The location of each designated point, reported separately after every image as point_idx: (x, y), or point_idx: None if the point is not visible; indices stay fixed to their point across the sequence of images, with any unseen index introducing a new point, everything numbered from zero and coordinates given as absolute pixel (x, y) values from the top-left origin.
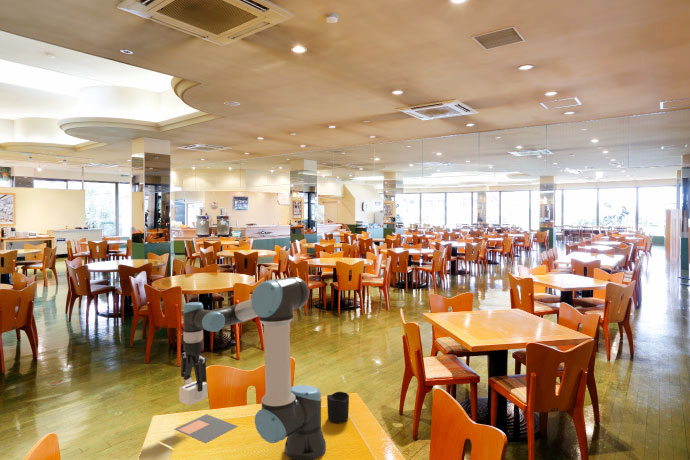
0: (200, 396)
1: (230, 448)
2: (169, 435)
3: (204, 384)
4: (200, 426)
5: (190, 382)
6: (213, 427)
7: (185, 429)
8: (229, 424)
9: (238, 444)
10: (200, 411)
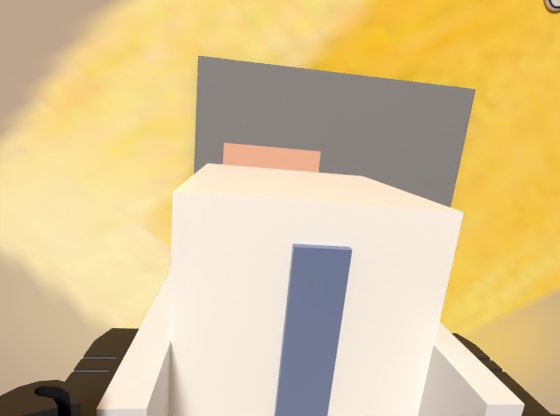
0: None
1: (541, 253)
2: None
3: (446, 272)
4: None
5: (168, 372)
6: (363, 166)
7: None
8: (419, 96)
9: (556, 214)
10: (112, 29)
